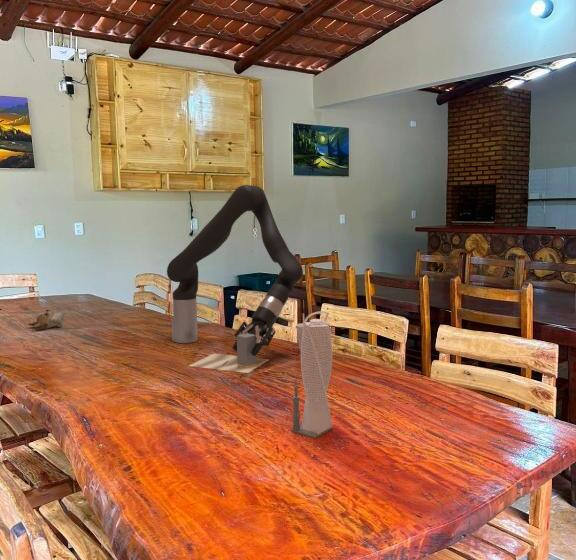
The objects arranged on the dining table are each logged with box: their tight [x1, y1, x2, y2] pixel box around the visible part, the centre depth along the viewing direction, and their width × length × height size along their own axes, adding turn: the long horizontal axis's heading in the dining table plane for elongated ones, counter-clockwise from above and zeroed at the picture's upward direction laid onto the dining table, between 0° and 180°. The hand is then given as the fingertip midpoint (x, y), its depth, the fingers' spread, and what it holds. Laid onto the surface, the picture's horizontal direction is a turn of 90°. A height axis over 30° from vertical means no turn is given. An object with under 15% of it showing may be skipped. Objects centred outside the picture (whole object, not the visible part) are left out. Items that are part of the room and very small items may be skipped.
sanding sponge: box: [236, 332, 258, 368], centre depth 175 cm, size 4×4×10 cm
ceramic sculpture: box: [28, 309, 65, 330], centre depth 242 cm, size 11×9×15 cm
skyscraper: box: [290, 310, 333, 439], centre depth 126 cm, size 8×8×28 cm
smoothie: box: [295, 313, 305, 353], centre depth 198 cm, size 6×6×14 cm
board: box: [188, 353, 270, 379], centre depth 179 cm, size 22×16×2 cm
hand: (243, 352), depth 174 cm, fingers open, 8 cm apart
